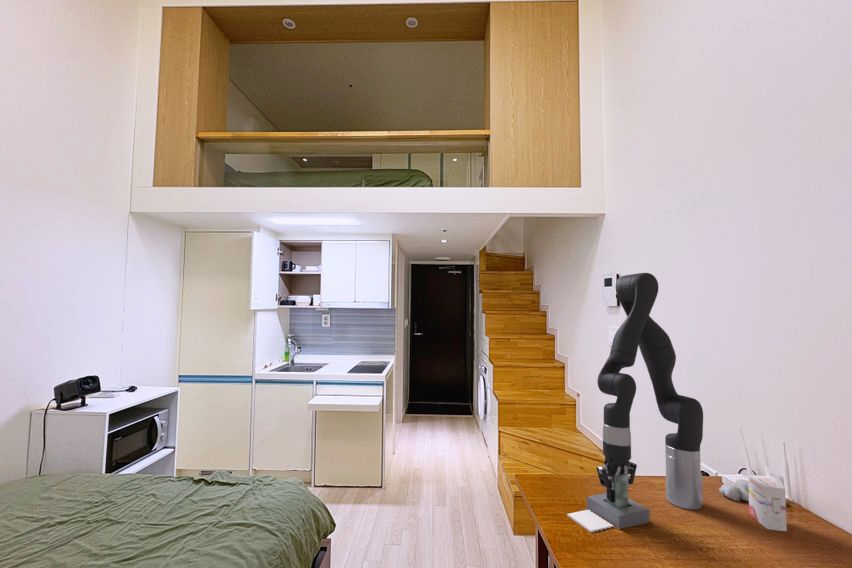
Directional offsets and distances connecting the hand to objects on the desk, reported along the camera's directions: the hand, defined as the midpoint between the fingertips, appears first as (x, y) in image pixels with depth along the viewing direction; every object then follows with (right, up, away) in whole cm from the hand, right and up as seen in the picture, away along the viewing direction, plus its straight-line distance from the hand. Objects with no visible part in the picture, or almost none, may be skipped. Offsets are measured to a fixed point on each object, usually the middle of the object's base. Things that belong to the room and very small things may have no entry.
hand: (617, 500), depth 112 cm
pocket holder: (0, -4, 0) cm, 4 cm away
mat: (-10, -4, -4) cm, 11 cm away
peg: (0, -4, 0) cm, 4 cm away
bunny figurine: (+49, -7, +13) cm, 51 cm away
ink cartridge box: (+42, -6, -2) cm, 43 cm away
